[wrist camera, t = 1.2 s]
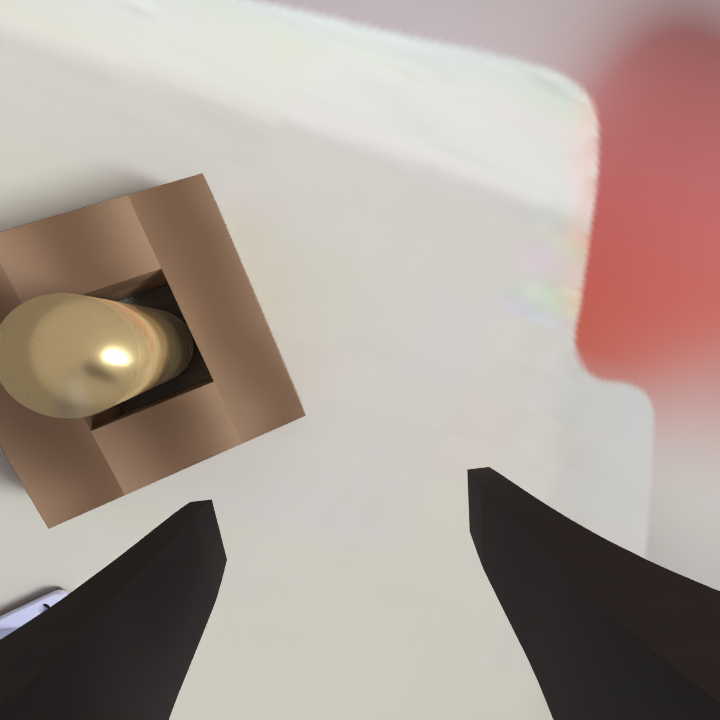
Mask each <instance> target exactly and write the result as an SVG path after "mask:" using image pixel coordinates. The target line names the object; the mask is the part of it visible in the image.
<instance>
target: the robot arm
mask: <svg viewBox="0 0 720 720" xmlns="http://www.w3.org/2000/svg"><path fill="white" fill-rule="evenodd" d="M467 471H468V497H469V523H470V533H471V536H472V539H473V542H474V545H475V547H476V550H477V553H478V556H479V558H480V561H481V564H482V566H483V569H484V571H485V573H486V575H487V577H488V579H489V581H490V583H491V585H492V587H493V589H494V591H495V593H496V595H497V598H498V600H499V602H500V604H501V606H502V608H503V610H504V612H505V614H506V616H507V618H508V620H509V622H510V624H511V626H512V628H513V630H514V632H515V634H516V636H517V638H518V640H519V642H520V644H521V646H522V648H523V650H524V652H525V654H526V656H527V658H528V660H529V662H530V664H531V667H532V669H533V671H534V673H535V675H536V678H537V680H538V682H539V685H540V687H541V690H542V692H543V695H544V697H545V700H546V702H547V705H548V707H549V709H550V712H551V714H552V717H553V719H554V720H720V591H718V590H715V589H712V588H710V587H708V586H706V585H703V584H701V583H698V582H696V581H694V580H691V579H689V578H687V577H684V576H682V575H680V574H677V573H675V572H672V571H670V570H668V569H666V568H664V567H661V566H659V565H657V564H655V563H653V562H650V561H648V560H646V559H644V558H642V557H640V556H638V555H636V554H634V553H632V552H630V551H628V550H626V549H624V548H622V547H620V546H618V545H616V544H614V543H612V542H610V541H608V540H606V539H604V538H602V537H600V536H599V535H597V534H595V533H593V532H591V531H590V530H588V529H586V528H584V527H583V526H581V525H579V524H577V523H576V522H574V521H572V520H570V519H569V518H567V517H565V516H564V515H562V514H561V513H559V512H557V511H556V510H554V509H552V508H551V507H549V506H548V505H546V504H544V503H543V502H541V501H540V500H538V499H537V498H535V497H534V496H532V495H531V494H529V493H528V492H526V491H525V490H523V489H522V488H520V487H519V486H517V485H516V484H514V483H513V482H511V481H510V480H508V479H507V478H505V477H504V476H502V475H501V474H499V473H498V472H496V471H495V470H493V469H491V468H490V467H486V468H477V469H469V470H467ZM226 561H227V558H226V554H225V550H224V546H223V543H222V539H221V535H220V531H219V527H218V523H217V519H216V515H215V511H214V507H213V503H212V500H204V501H196V502H190V503H188V504H187V505H185V506H184V507H182V508H181V509H180V510H178V511H177V512H176V513H174V514H173V515H172V516H170V517H169V518H168V519H166V520H165V521H164V522H163V523H161V524H160V525H159V526H158V527H156V528H155V529H154V530H153V531H151V532H150V533H149V534H148V535H146V536H145V537H144V538H142V539H141V540H140V541H139V542H137V543H136V544H135V545H134V546H132V547H131V548H130V549H129V550H127V551H126V552H125V553H123V554H122V555H121V556H120V557H118V558H117V559H116V560H114V561H113V562H112V563H110V564H109V565H108V566H106V567H105V568H104V569H102V570H101V571H100V572H98V573H97V574H95V575H94V576H93V577H91V578H90V579H89V580H87V581H86V582H85V583H83V584H82V585H81V586H79V587H78V588H77V589H75V590H74V591H73V592H71V593H70V594H68V593H67V592H66V591H64V590H56V591H53V592H51V593H49V594H46V595H44V596H42V597H40V598H38V599H36V600H34V601H32V602H29V603H27V604H25V605H23V606H21V607H19V608H17V609H15V610H12V611H10V612H8V613H6V614H4V615H2V616H0V720H169V717H170V715H171V712H172V709H173V707H174V704H175V701H176V699H177V696H178V694H179V691H180V689H181V686H182V684H183V681H184V679H185V676H186V674H187V671H188V669H189V666H190V664H191V661H192V659H193V657H194V654H195V652H196V649H197V647H198V644H199V642H200V639H201V637H202V634H203V632H204V629H205V627H206V624H207V622H208V619H209V617H210V614H211V612H212V609H213V606H214V604H215V601H216V598H217V595H218V591H219V588H220V584H221V581H222V577H223V573H224V569H225V565H226ZM43 604H48V605H49V606H50V608H47V607H45V606H43Z"/></svg>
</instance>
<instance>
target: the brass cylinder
mask: <svg viewBox="0 0 720 720" xmlns="http://www.w3.org/2000/svg"><path fill="white" fill-rule="evenodd" d="M192 355H193V340H192V336H191V333H190V331H189V329H188V328H187V326H186V325H185V324H184V323H183V322H182V321H181V320H180V319H179V318H178V317H177V316H175V315H173V314H171V313H169V312H167V311H164V310H160V309H155V308H149V307H144V306H139V305H133V304H128V303H123V302H117V301H112V300H106V299H101V298H96V297H90V296H85V295H79V294H73V293H53V294H46V295H42V296H38V297H35V298H33V299H30V300H28V301H26V302H24V303H22V304H21V305H19V306H18V307H16V308H15V309H14V310H13V311H12V312H10V313H9V314H8V315H7V316H6V318H5V319H4V320H3V322H2V323H1V325H0V382H1V384H2V385H3V387H4V388H5V389H6V390H7V392H8V393H9V394H10V395H11V396H12V397H13V398H14V399H15V400H17V401H18V402H19V403H21V404H22V405H24V406H25V407H27V408H29V409H31V410H33V411H35V412H37V413H40V414H43V415H47V416H51V417H56V418H81V417H86V416H91V415H94V414H97V413H99V412H102V411H104V410H106V409H108V408H110V407H112V406H115V405H117V404H119V403H121V402H123V401H125V400H128V399H130V398H132V397H134V396H136V395H138V394H141V393H143V392H145V391H147V390H149V389H151V388H154V387H156V386H158V385H160V384H162V383H164V382H167V381H169V380H171V379H173V378H175V377H177V376H178V375H179V374H181V373H182V372H183V371H184V370H185V369H186V367H187V366H188V365H189V363H190V361H191V358H192Z"/></svg>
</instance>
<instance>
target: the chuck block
mask: <svg viewBox="0 0 720 720" xmlns="http://www.w3.org/2000/svg"><path fill="white" fill-rule="evenodd" d="M167 284H169V286H170V288H171V290H172V292H173V295H174V297H175V299H176V301H177V303H178V305H179V308H180V310H181V312H182V314H183V316H184V318H185V320H186V323H187V325H188V327H189V329H190V331H191V333H192V336H193V338H194V340H195V342H196V344H197V346H198V348H199V351H200V353H201V355H202V357H203V359H204V361H205V364H206V366H207V368H208V370H209V372H210V374H211V377H212V378H211V379H209V380H206V381H204V382H201V383H199V384H196V385H193V386H191V387H188V388H186V389H183V390H181V391H178V392H176V393H173V394H171V395H168V396H166V397H163V398H161V399H158V400H156V401H153V402H151V403H148V404H146V405H143V406H141V407H138V408H136V409H133V410H131V411H128V412H126V413H124V412H123V411H122V409H121V407H120V405H119V404H117V405H115V406H112V407H110V408H108V409H106V410H104V411H102V412H99V413H97V414H94V415H91V416H86V417H81V418H56V417H51V416H47V415H43V414H40V413H37V412H35V411H33V410H31V409H29V408H27V407H25V406H24V405H22V404H21V403H19V402H18V401H17V400H15V399H14V398H13V397H12V396H11V395H10V394H9V393H8V392H7V390H6V389H5V388H4V387H3V385H2V384H1V382H0V447H1V449H2V450H3V452H4V454H5V456H6V457H7V459H8V461H9V462H10V464H11V466H12V467H13V469H14V471H15V473H16V474H17V476H18V478H19V479H20V481H21V483H22V484H23V486H24V488H25V490H26V491H27V493H28V495H29V496H30V498H31V500H32V501H33V503H34V505H35V507H36V508H37V510H38V512H39V513H40V515H41V517H42V518H43V520H44V522H45V524H46V525H47V527H48V529H49V528H51V527H54V526H56V525H58V524H60V523H63V522H65V521H67V520H69V519H72V518H74V517H76V516H79V515H81V514H83V513H85V512H88V511H90V510H92V509H94V508H97V507H99V506H101V505H104V504H106V503H108V502H110V501H113V500H115V499H117V498H119V497H122V496H124V495H126V494H129V493H131V492H133V491H135V490H138V489H140V488H142V487H144V486H147V485H149V484H151V483H154V482H156V481H158V480H160V479H163V478H165V477H167V476H169V475H172V474H174V473H176V472H178V471H181V470H183V469H185V468H188V467H190V466H192V465H194V464H197V463H199V462H201V461H203V460H206V459H208V458H210V457H213V456H215V455H217V454H219V453H222V452H224V451H226V450H228V449H231V448H233V447H235V446H238V445H240V444H242V443H244V442H247V441H249V440H251V439H253V438H256V437H258V436H260V435H263V434H265V433H267V432H269V431H272V430H274V429H276V428H278V427H281V426H283V425H285V424H287V423H290V422H292V421H294V420H297V419H299V418H301V417H303V416H306V415H305V412H304V410H303V407H302V404H301V401H300V399H299V396H298V394H297V392H296V389H295V387H294V385H293V382H292V380H291V378H290V375H289V373H288V371H287V368H286V366H285V364H284V361H283V359H282V356H281V354H280V352H279V349H278V347H277V345H276V342H275V340H274V338H273V335H272V333H271V331H270V328H269V326H268V324H267V321H266V319H265V316H264V314H263V312H262V309H261V307H260V305H259V302H258V300H257V298H256V295H255V293H254V291H253V288H252V286H251V284H250V281H249V279H248V276H247V274H246V272H245V269H244V267H243V265H242V262H241V260H240V258H239V255H238V253H237V251H236V248H235V246H234V244H233V241H232V239H231V236H230V234H229V232H228V229H227V227H226V225H225V222H224V220H223V218H222V215H221V213H220V211H219V208H218V206H217V204H216V201H215V199H214V197H213V195H212V193H211V190H210V188H209V186H208V184H207V182H206V180H205V178H204V175H203V173H202V174H198V175H195V176H192V177H188V178H185V179H181V180H178V181H174V182H171V183H167V184H164V185H161V186H157V187H154V188H150V189H147V190H143V191H140V192H137V193H133V194H130V195H126V196H123V197H119V198H116V199H112V200H109V201H106V202H102V203H99V204H95V205H92V206H88V207H85V208H81V209H78V210H75V211H71V212H68V213H64V214H61V215H57V216H54V217H50V218H47V219H44V220H40V221H37V222H33V223H30V224H26V225H23V226H19V227H16V228H13V229H9V230H6V231H2V232H0V325H1V323H2V322H3V320H4V319H5V318H6V316H7V315H8V314H9V313H10V312H12V311H13V310H14V309H15V308H16V307H18V306H19V305H21V304H22V303H24V302H26V301H28V300H30V299H33V298H35V297H38V296H42V295H46V294H53V293H73V294H79V295H85V296H90V297H96V298H101V299H106V300H112V301H120V300H123V299H126V298H129V297H132V296H135V295H138V294H141V293H144V292H147V291H149V290H152V289H155V288H158V287H161V286H164V285H167Z"/></svg>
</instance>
